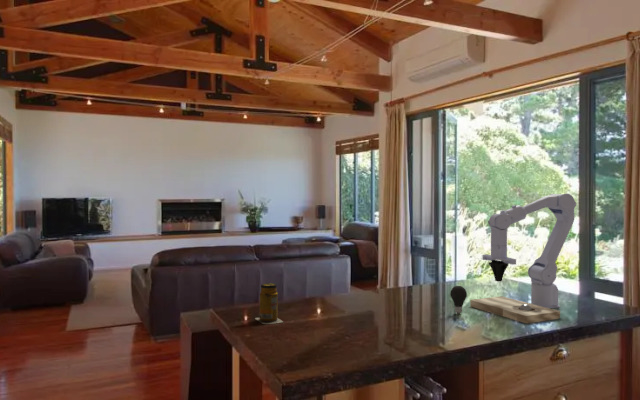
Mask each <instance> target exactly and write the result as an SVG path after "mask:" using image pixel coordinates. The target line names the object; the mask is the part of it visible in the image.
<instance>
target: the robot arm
mask: <svg viewBox="0 0 640 400" xmlns="http://www.w3.org/2000/svg"><path fill="white" fill-rule="evenodd" d="M576 206H577V201H576V200H575V198H574V196H573V195H572V194H570V193H550V194H548V195H544V196H542V197H540V198H538V199H536V200H534V201H532V202H530V203H527V204H525V205H523V206H521V205H519V204H518V205H516V204H514V205H511V207H510V208H508V209H506V210H500V213H494V214H491V215H490V216H489V220H487V223H488V225H489V227H490V254H482V260H483V261H490V262H488V265H489V266H490V268H491V270H492V273H493V276H494V281H495V282H502V281H503V278H504V274H505V271H506V270H507V268H508V266H509V265H512V266H513V265H517V258H512V257H509V256H508V228H510V226H512V225H514V224H516V223H519V222H520V221H523V220H525V219H526V217H527V215H529V214H531V213H534V212H537V211H540V210H542V209H545V208H547V209H548V210H549V211H550V212H551V213H552V214H553V215H554V217H555V219H556V221H555V224H554V226H553V228H552V231H551V232H550V235H549V236H548V239H547V241H546V244H545V246H544V248H543V251H542V253H541V255H540V256H539V257H538V258H536V259H535V260H534V262H533V263H532V264H531V265H530V266H529V267H528V270H527V274H528V277H529V278H530V284H531V285H530V286H531V288H530V289H531V290H530V291H531V293H530V297H531V300H530V304H534V305H538V306H542V307H545V308H549V309H556V308H561V305H559V289H558V286H557V285H556V284H555V283H554V282H555V281H556V279H557V270H558V266H557V259H558V258H559V255H560V253H561V251H562V248H563V246H564V244H565V242H566V240H567V238H568V235H569V233H570V231H571V229H572V226H573V224H574V221H575V208H576Z"/></svg>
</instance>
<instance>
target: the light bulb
mask: <svg viewBox="0 0 640 400" xmlns="http://www.w3.org/2000/svg"><path fill="white" fill-rule="evenodd" d="M467 295H468V293H467V290H466V288H465V287H463V286H462V285H455V286H453V287H452V288H451V290H450V297H451V300H452V302H453V305H454V312H455V313H456V314H457V315H460V314H461V313H463V306H464V302H465V301H466V299H467Z"/></svg>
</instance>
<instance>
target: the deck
mask: <svg viewBox="0 0 640 400" xmlns="http://www.w3.org/2000/svg"><path fill="white" fill-rule="evenodd" d="M530 303H531V302H530ZM530 303H529V302H526V301H522V300H518V299H514V298H509V297H506V296H493V297H485V298H476V299H475V298H474V299H470V307H472V308H475V309H478V310H481V311H485V312H488V313H490V314H494V315H497V316H501V317H504V318H508V319H511V320H514V321H518V322H521V323H524V324H527V325H528V324H533V323H539V322H545V321H553V320H560V319H561V310H557V309H554V308H545V307H542V306H538V305H534V304H530ZM523 304H527V305H529V306H530V307H531V309H532V311H525V310H520V309H519V308H520V306H521V305H523ZM559 318H560V319H559Z"/></svg>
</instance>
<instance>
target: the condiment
mask: <svg viewBox="0 0 640 400" xmlns="http://www.w3.org/2000/svg"><path fill="white" fill-rule="evenodd" d="M277 287H278V285H277V284H276V283H271V282H270V283H269V282H268V283H263V284H261V286H260V293H259V317H255V318H254V319H255V320H256V321H257V322H259V323H260V324H262V325H272V324H279V323H284V321H283V320H282V319H280V318H278V315H279V313H278V312H279V311H278V308H279V306H278V305H279V300H278V299H279V297H278V296H279V294H278V290H277Z"/></svg>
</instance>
